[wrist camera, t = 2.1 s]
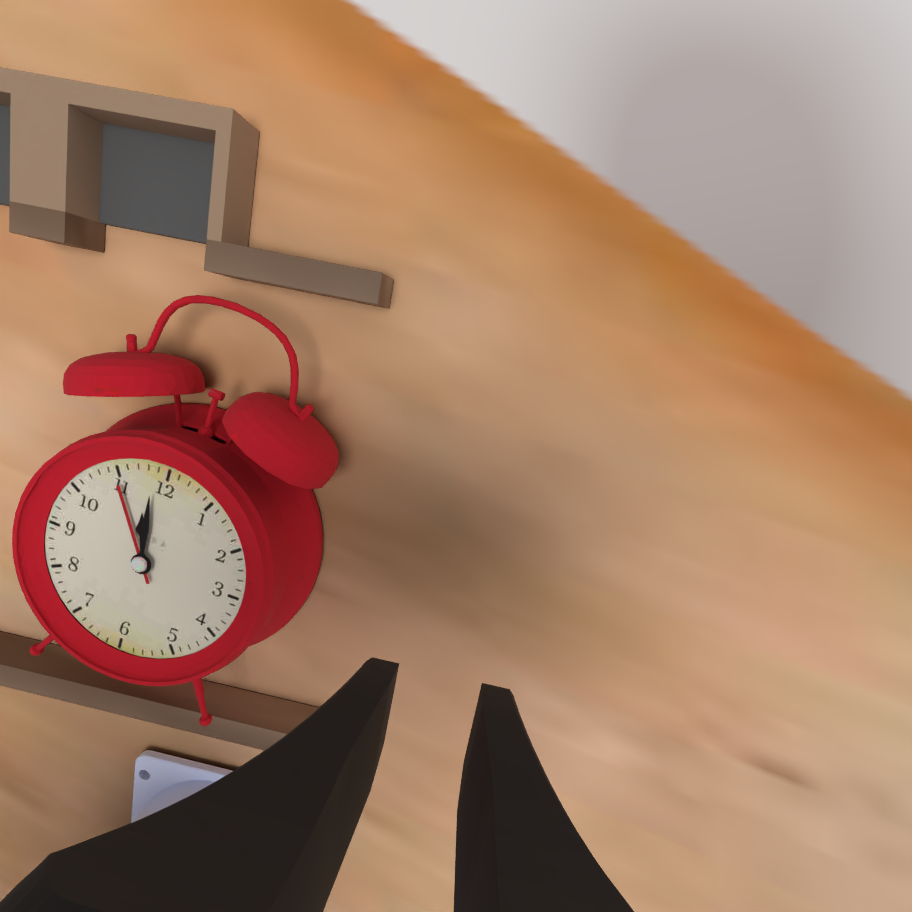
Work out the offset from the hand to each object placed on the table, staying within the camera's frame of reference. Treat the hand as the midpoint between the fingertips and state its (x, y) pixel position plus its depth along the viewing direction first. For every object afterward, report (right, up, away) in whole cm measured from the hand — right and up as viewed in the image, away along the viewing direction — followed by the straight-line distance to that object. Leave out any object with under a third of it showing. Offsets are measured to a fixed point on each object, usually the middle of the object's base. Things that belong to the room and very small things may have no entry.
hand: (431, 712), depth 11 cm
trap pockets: (-13, +16, +8) cm, 22 cm away
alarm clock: (-9, +4, +10) cm, 14 cm away
